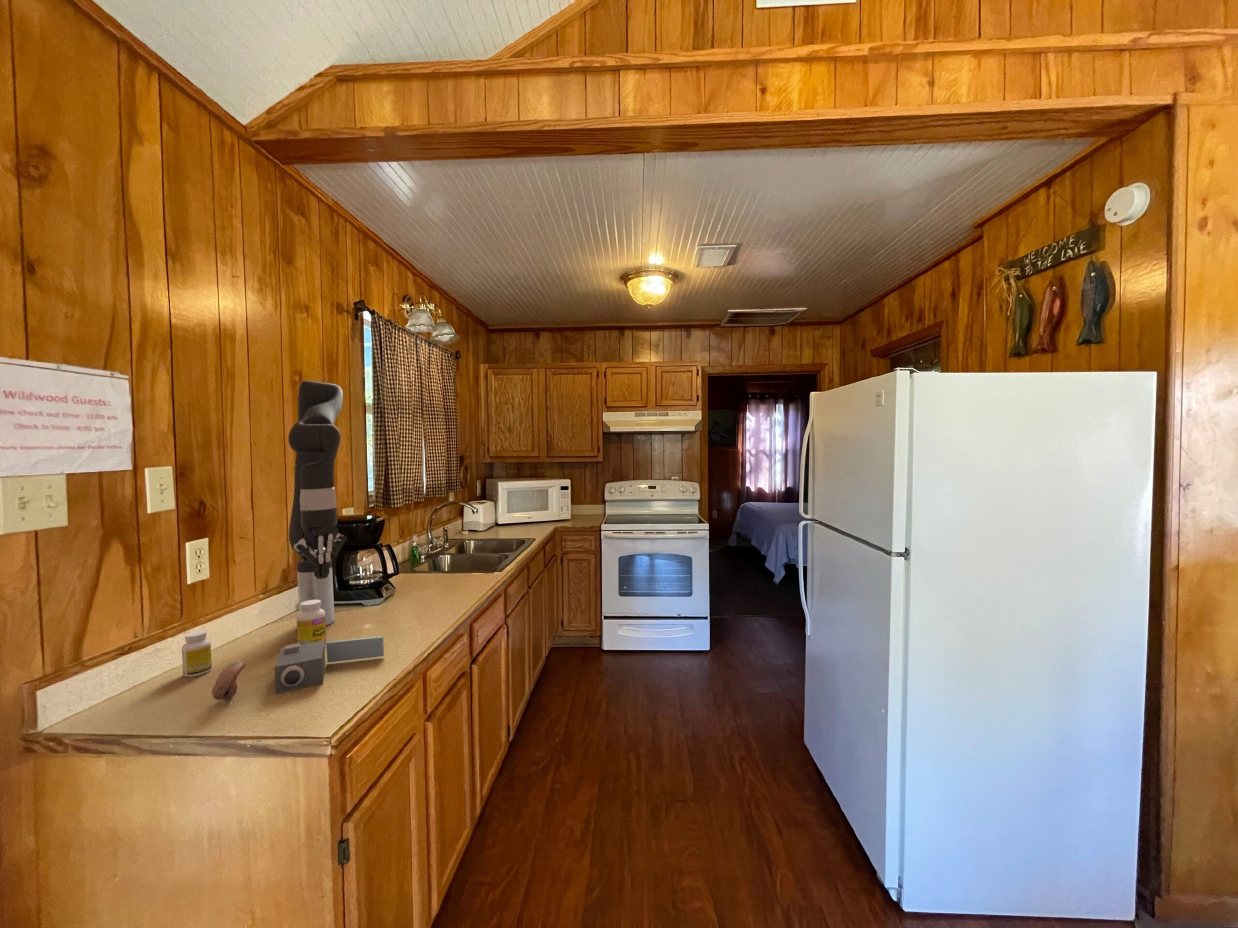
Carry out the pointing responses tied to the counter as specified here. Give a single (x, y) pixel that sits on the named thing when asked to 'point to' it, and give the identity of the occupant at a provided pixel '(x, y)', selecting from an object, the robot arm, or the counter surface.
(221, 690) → the mushroom
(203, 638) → the supplement bottle
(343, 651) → the door
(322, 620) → the supplement bottle
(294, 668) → the camera box
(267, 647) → the counter surface
